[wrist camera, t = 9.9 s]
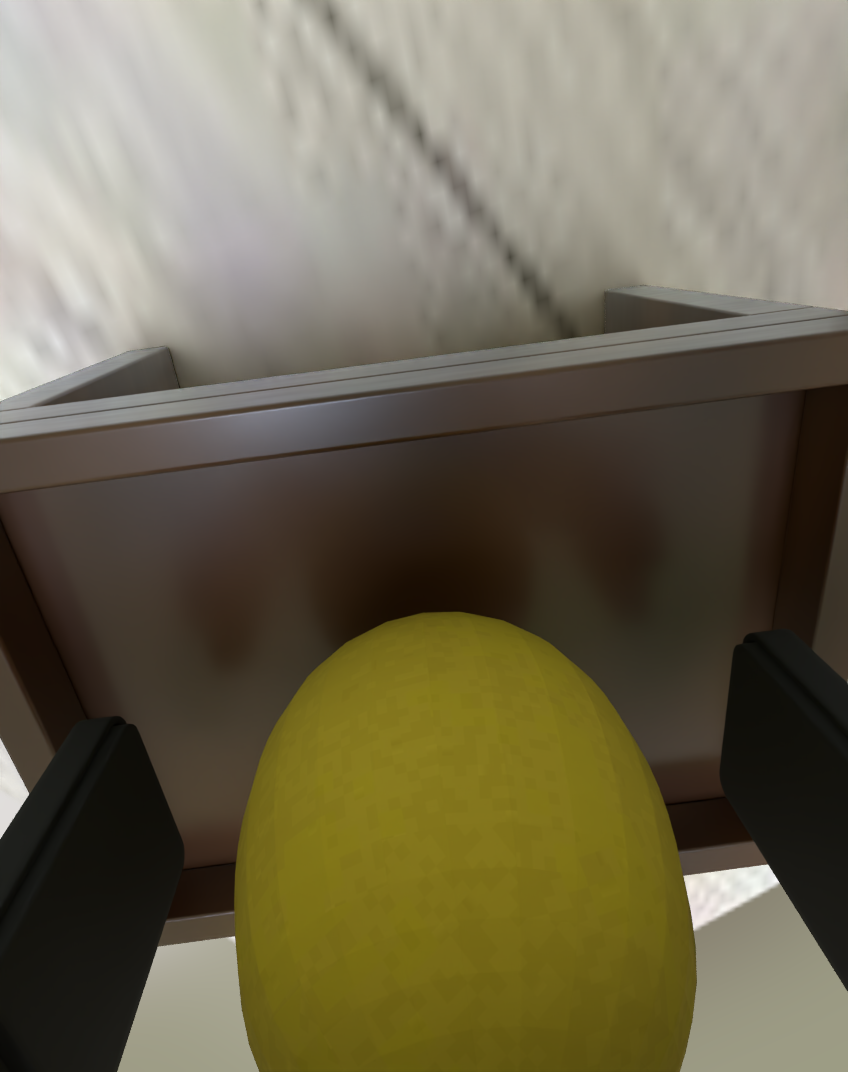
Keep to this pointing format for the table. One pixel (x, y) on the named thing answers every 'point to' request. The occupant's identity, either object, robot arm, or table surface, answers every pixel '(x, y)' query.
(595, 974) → the lemon
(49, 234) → the table surface
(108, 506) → the shelf
